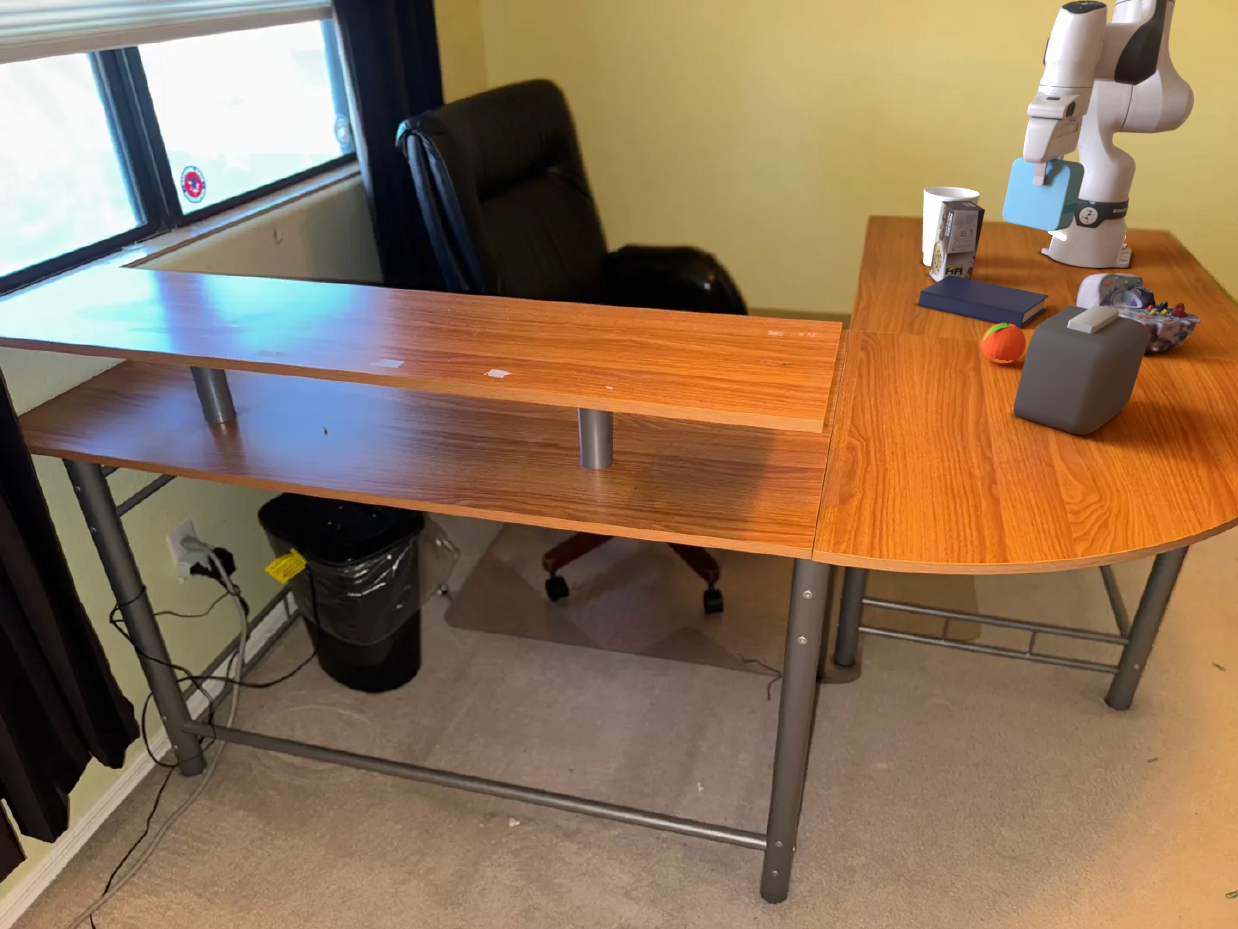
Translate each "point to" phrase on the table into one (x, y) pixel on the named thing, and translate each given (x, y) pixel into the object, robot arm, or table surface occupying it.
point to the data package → (1043, 195)
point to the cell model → (1138, 308)
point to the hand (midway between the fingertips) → (1044, 182)
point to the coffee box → (956, 239)
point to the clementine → (1003, 342)
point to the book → (983, 300)
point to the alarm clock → (1080, 368)
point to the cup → (932, 212)
